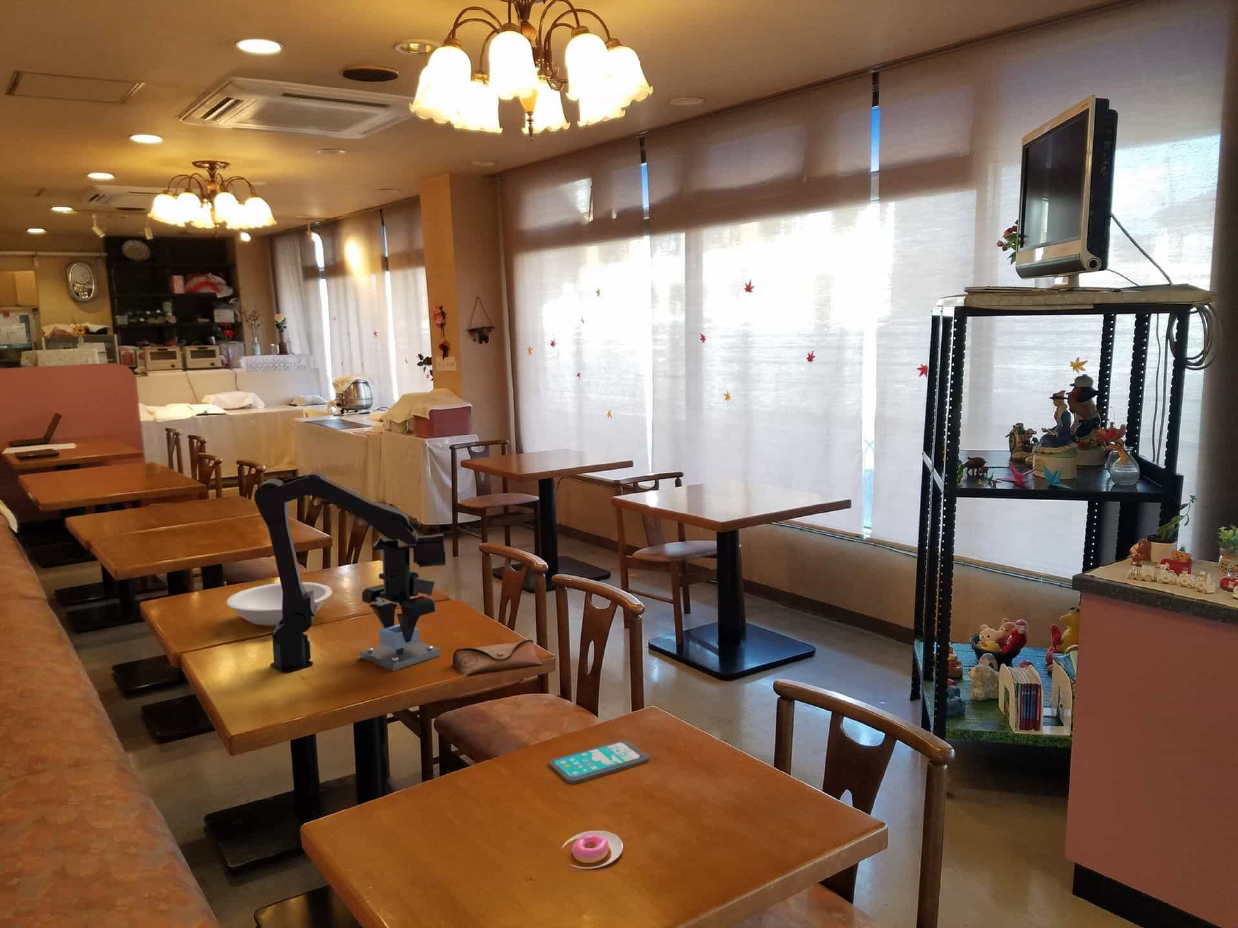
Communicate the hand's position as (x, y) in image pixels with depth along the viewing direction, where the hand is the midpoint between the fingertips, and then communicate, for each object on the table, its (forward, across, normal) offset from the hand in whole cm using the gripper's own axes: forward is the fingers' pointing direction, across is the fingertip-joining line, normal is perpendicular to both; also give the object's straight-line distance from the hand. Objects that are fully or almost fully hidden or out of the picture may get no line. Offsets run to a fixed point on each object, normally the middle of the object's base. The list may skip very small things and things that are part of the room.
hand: (399, 638), depth 189 cm
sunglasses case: (+5, -20, -11) cm, 23 cm away
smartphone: (+4, -65, +8) cm, 66 cm away
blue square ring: (+1, 0, 0) cm, 1 cm away
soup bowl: (+4, +43, +4) cm, 43 cm away
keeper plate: (+4, 0, 0) cm, 4 cm away
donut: (+5, -81, +26) cm, 85 cm away
